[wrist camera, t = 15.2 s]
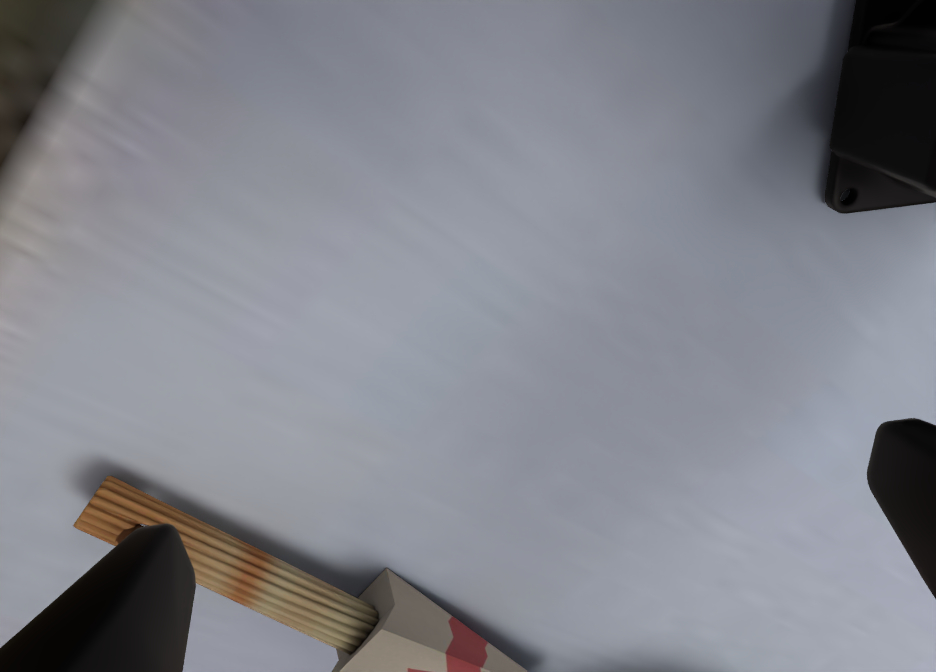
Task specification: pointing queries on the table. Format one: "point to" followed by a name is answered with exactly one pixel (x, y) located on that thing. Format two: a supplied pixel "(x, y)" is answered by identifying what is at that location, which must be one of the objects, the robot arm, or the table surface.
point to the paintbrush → (306, 594)
